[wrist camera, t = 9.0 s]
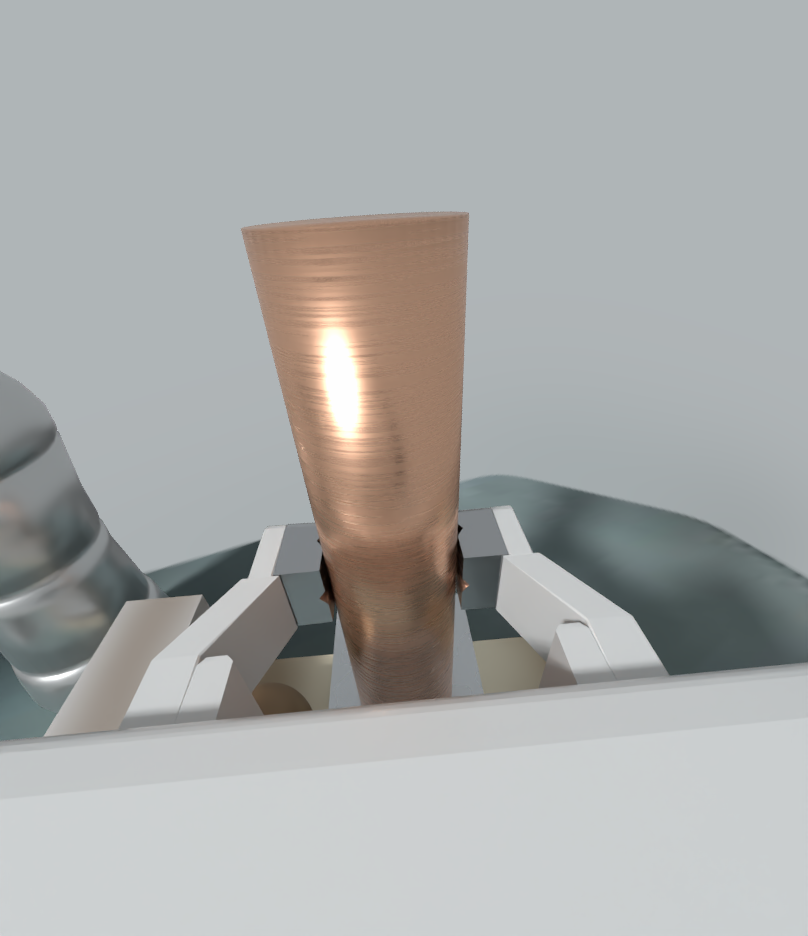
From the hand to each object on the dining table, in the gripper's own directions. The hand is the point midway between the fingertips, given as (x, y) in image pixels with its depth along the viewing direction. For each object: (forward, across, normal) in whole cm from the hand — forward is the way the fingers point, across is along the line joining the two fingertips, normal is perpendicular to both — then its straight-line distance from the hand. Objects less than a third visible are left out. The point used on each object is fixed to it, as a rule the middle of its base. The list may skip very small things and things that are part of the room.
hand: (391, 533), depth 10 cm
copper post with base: (-1, 0, +11) cm, 11 cm away
